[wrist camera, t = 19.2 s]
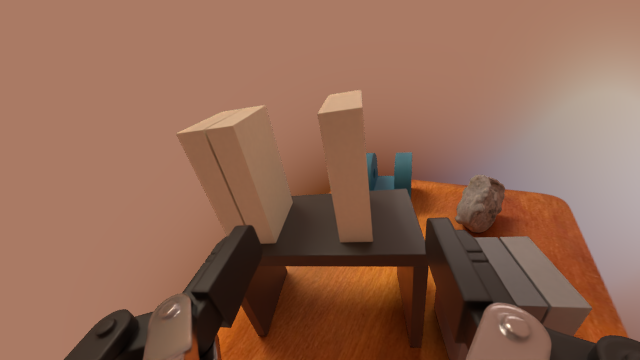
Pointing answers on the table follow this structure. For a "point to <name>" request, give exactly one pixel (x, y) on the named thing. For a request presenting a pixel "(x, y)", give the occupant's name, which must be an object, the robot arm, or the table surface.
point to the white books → (240, 170)
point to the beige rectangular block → (347, 164)
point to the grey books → (525, 289)
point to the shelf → (344, 254)
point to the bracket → (390, 182)
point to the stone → (480, 203)
